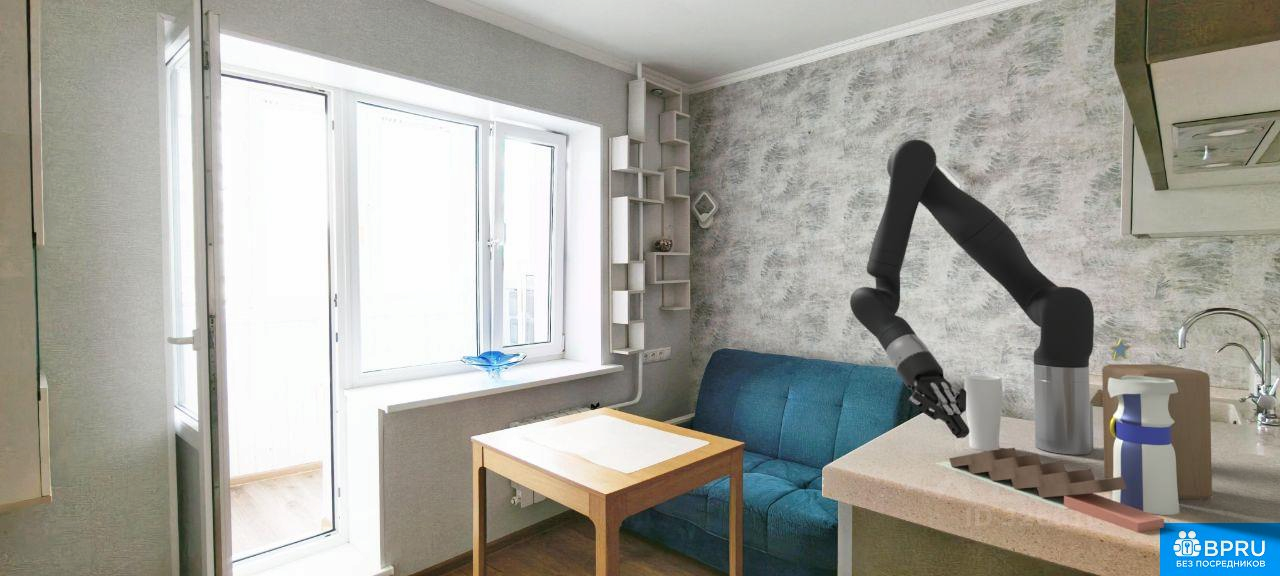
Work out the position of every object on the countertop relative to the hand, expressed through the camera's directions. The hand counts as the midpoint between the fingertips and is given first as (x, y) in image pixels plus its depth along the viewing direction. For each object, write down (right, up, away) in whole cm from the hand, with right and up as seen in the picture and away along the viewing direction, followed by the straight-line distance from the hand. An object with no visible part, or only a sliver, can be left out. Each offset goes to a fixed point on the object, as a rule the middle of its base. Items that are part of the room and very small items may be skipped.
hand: (964, 435), depth 109 cm
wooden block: (+24, -6, -13) cm, 28 cm away
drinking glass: (+11, -6, +12) cm, 18 cm away
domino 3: (+2, -5, -7) cm, 9 cm away
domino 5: (+5, -5, -16) cm, 17 cm away
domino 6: (+6, -5, -20) cm, 21 cm away
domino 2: (+1, -5, -3) cm, 6 cm away
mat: (+3, -6, -8) cm, 11 cm away
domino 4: (+4, -5, -11) cm, 13 cm away
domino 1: (0, -5, +1) cm, 5 cm away
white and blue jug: (+16, -6, -20) cm, 26 cm away
